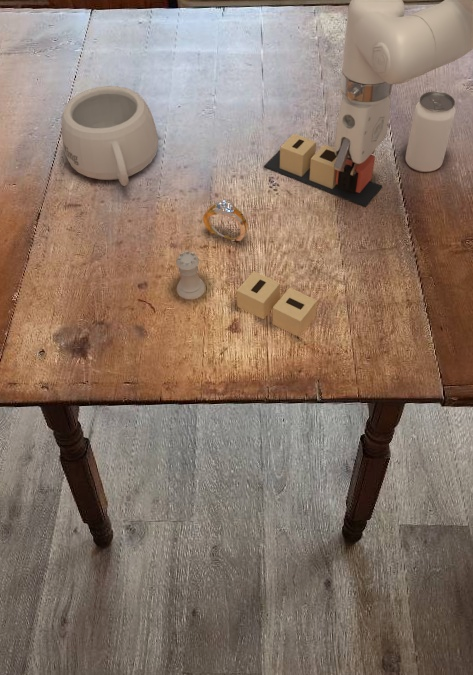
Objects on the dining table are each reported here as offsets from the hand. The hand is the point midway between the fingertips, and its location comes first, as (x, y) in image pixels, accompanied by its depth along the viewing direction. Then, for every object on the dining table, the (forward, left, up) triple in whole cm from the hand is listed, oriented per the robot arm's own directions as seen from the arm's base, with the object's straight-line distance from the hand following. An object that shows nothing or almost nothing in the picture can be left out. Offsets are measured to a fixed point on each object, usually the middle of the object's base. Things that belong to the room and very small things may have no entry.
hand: (354, 180), depth 114 cm
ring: (+11, +22, -2) cm, 25 cm away
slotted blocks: (-6, +31, -2) cm, 32 cm away
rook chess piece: (+9, +34, -2) cm, 35 cm away
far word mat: (+6, 0, -2) cm, 6 cm away
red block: (0, 0, 0) cm, 0 cm away
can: (-7, -13, -2) cm, 15 cm away
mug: (+39, +16, -2) cm, 42 cm away
